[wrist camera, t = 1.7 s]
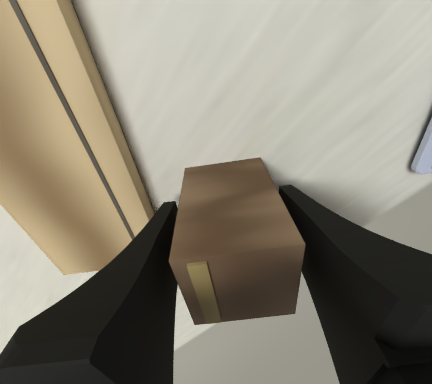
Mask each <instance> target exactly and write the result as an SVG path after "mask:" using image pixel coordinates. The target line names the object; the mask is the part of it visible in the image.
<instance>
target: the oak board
mask: <svg viewBox="0 0 432 384" xmlns="http://www.w3.org/2000/svg"><path fill="white" fill-rule="evenodd" d="M0 204H1V205H2V206H3V208H4V209H5V210H6V211H7V212H8V213H9V214H10V215H11V216H12V218H13V219H14V220H15V221H16V222H17V223H18V224H19V225H20V227H21V228H22V229H23V230H24V231H25V232H26V233H27V234H28V235H29V237H30V238H31V239H32V240H33V241H34V242H35V243H36V244H37V245H38V247H39V248H40V249H41V250H42V251H43V252H44V253H45V254H46V256H47V257H48V258H49V259H50V260H51V261H52V262H53V263H54V264H55V266H56V267H57V268H58V269H59V270H60V271H61V272H62V273H63V275H67V274H75V273H83V272H91V271H99V270H101V269H102V268H104V267H105V266H106V265H107V264H108V263H109V262H111V261H112V260H113V259H114V258H115V257H116V256H117V255H118V254H119V253H120V252H121V251H122V250H123V249H124V248H125V247H126V246H127V245H128V244H129V243H130V242H131V241H132V240H133V239H134V238H135V237H136V236H137V234H138V233H139V232H140V231H141V230H142V229H143V228H144V226H145V225H146V224H147V223H148V222H149V220H150V219H151V218H152V217H153V215H154V212H153V209H152V207H151V204H150V201H149V199H148V196H147V194H146V191H145V189H144V186H143V184H142V181H141V178H140V176H139V173H138V171H137V168H136V166H135V163H134V161H133V158H132V156H131V153H130V150H129V148H128V145H127V143H126V140H125V138H124V135H123V133H122V130H121V127H120V125H119V122H118V120H117V117H116V115H115V112H114V110H113V107H112V104H111V102H110V99H109V97H108V94H107V92H106V89H105V87H104V84H103V82H102V79H101V76H100V74H99V71H98V69H97V66H96V64H95V61H94V59H93V56H92V53H91V51H90V48H89V46H88V43H87V41H86V38H85V36H84V33H83V31H82V28H81V25H80V23H79V20H78V18H77V15H76V13H75V10H74V8H73V5H72V2H71V0H0Z"/></svg>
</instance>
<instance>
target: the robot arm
mask: <svg viewBox="0 0 432 384" xmlns="http://www.w3.org/2000/svg"><path fill="white" fill-rule="evenodd" d="M411 169H412V170H413V171H414V172H416V173H418V174H427V173H432V118H431V120H430V123H429V125H428V127H427V130H426V132H425V134H424V137H423V139H422V141H421V144H420V146H419V148H418V151H417V153H416V155H415V158H414V160H413V163H412V165H411ZM279 195H280V197H281V199H282V200H283V202H284V204H285V206H286V208H287V210H288V212H289V214H290V216H291V218H292V220H293V221H294V223H295V225H296V227H297V229H298V231H299V233H300V235H301V237H302V239H303V241H304V242H305V250H304V257H303V264H302V274H303V276H304V278H305V280H306V283H307V286H308V288H309V291H310V294H311V297H312V299H313V302H314V305H315V308H316V311H317V314H318V316H319V319H320V322H321V325H322V328H323V331H324V335H325V337H326V341H327V344H328V347H329V350H330V353H331V356H332V360H333V363H334V366H335V370H336V373H337V376H338V380H339V383H340V384H432V254H429V253H426V252H423V251H420V250H417V249H414V248H412V247H409V246H406V245H403V244H400V243H398V242H395V241H393V240H390V239H388V238H385V237H383V236H380V235H378V234H376V233H373V232H371V231H369V230H366V229H365V228H363V227H361V226H359V225H356V224H354V223H352V222H350V221H348V220H347V219H345V218H343V217H341V216H339V215H338V214H336V213H334V212H332V211H331V210H329V209H327V208H326V207H324V206H322V205H321V204H319V203H318V202H316V201H315V200H313V199H312V198H310V197H309V196H307V195H306V194H304V193H303V192H301V191H300V190H298V189H297V188H295V187H294V186H292V185H288V186H281V187H279ZM177 212H178V208H177V205H176V202H175V201H172V202H164V203H163V204H162V205H161V207H160V208H159V209H158V210H157V212H156V213H155V214H154V215H153V217H152V218H151V219H150V220H149V222H148V223H147V224H146V225H145V226H144V228H143V229H142V230H141V231H140V232H139V233H138V234H137V236H136V237H135V238H134V239H133V240H132V241H131V242H130V243H129V244H128V245H127V246H126V247H125V248H124V249H123V250H122V251H121V252H120V253H119V254H118V255H117V256H116V257H115V258H114V259H113V260H112V261H111V262H109V263H108V264H107V265H106V266H105V267H104V268H102V269H101V270H100V271H99V272H97V273H96V274H95V275H94V276H93V277H91V278H90V279H89V280H88V281H86V282H85V283H84V284H82V285H81V286H80V287H78V288H77V289H76V290H74V291H73V292H71V293H70V294H69V295H67V296H66V297H64V298H63V299H62V300H60V301H59V302H57V303H56V304H54V305H53V306H51V307H49V308H48V309H46V310H45V311H43V312H42V313H40V314H39V315H37V316H35V317H34V318H32V319H31V320H29V321H28V322H26V323H24V324H23V325H21V326H19V328H18V329H17V330H16V332H15V333H14V335H13V336H12V338H11V339H10V341H9V342H8V344H7V345H6V347H5V348H4V350H3V351H2V353H1V354H0V384H173V354H174V326H175V307H176V293H177V286H178V283H177V280H176V278H175V275H174V273H173V271H172V268H171V266H170V263H169V257H170V251H171V245H172V240H173V234H174V228H175V223H176V217H177Z"/></svg>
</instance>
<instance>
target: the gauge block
mask: <svg viewBox="0 0 432 384" xmlns="http://www.w3.org/2000/svg"><path fill="white" fill-rule="evenodd" d="M304 250H305V242H304V241H303V239H302V237H301V235H300V233H299V231H298V229H297V227H296V225H295V223H294V221H293V220H292V218H291V216H290V214H289V212H288V210H287V208H286V206H285V204H284V202H283V200H282V199H281V197H280V195H279V193H278V191H277V189H276V187H275V185H274V183H273V181H272V179H271V178H270V176H269V174H268V172H267V170H266V168H265V166H264V164H263V162H262V160H261V158H253V159H246V160H239V161H232V162H225V163H218V164H211V165H204V166H197V167H190V168H185V172H184V178H183V183H182V189H181V195H180V200H179V206H178V212H177V217H176V223H175V228H174V234H173V240H172V245H171V251H170V257H169V263H170V266H171V268H172V271H173V273H174V275H175V278H176V280H177V283H178V285H179V288H180V290H181V293H182V295H183V297H184V300H185V302H186V305H187V307H188V310H189V312H190V314H191V317H192V319H193V322H194V324H195V325H199V324H210V323H219V322H226V321H235V320H244V319H252V318H261V317H270V316H279V315H288V314H295V311H296V304H297V297H298V291H299V284H300V277H301V271H302V264H303V257H304Z"/></svg>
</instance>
